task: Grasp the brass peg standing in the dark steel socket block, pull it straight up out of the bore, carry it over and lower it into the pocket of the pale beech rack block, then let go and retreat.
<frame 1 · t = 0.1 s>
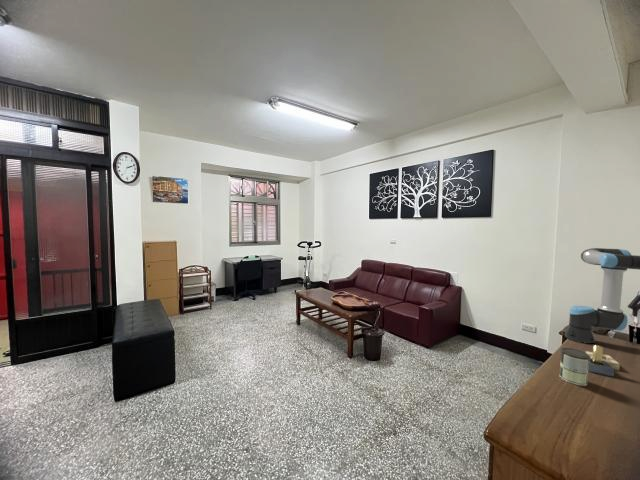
peg: (597, 357, 141), in the socket
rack: (601, 363, 149), on the table
socket: (596, 369, 142), on the table
coffee can: (572, 380, 131), on the table
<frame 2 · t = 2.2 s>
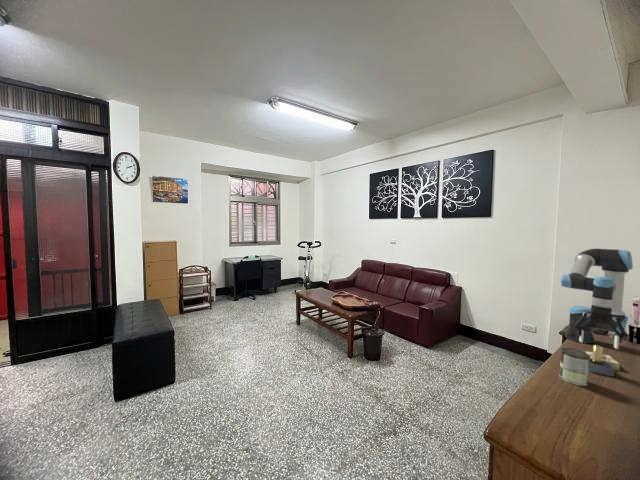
hand: (598, 344, 141), 14 cm above the table, fingers open, 13 cm apart
nothing on the table moved.
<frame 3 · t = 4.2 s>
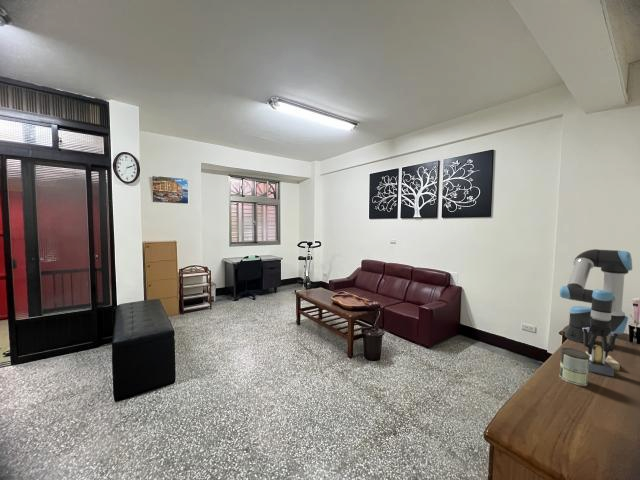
hand: (596, 361, 142), 5 cm above the table, fingers closed on peg, 4 cm apart
peg: (597, 357, 141), in the socket, touching gripper
everything else where it was.
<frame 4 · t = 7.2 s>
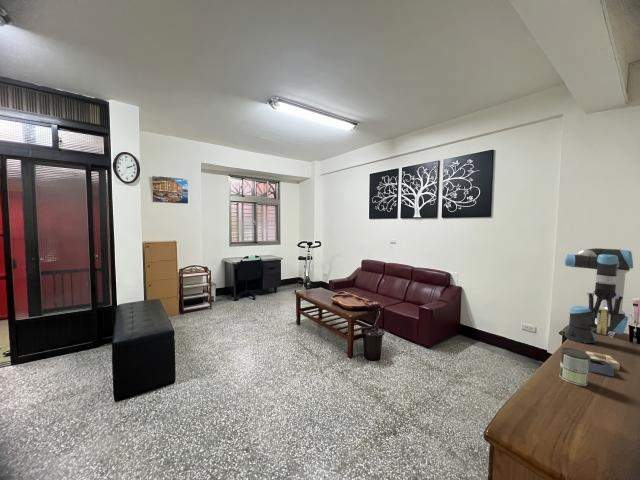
hand: (602, 324, 144), 24 cm above the table, fingers closed on peg, 4 cm apart
peg: (602, 321, 144), point 25 cm above the table, touching gripper
everything else where it was.
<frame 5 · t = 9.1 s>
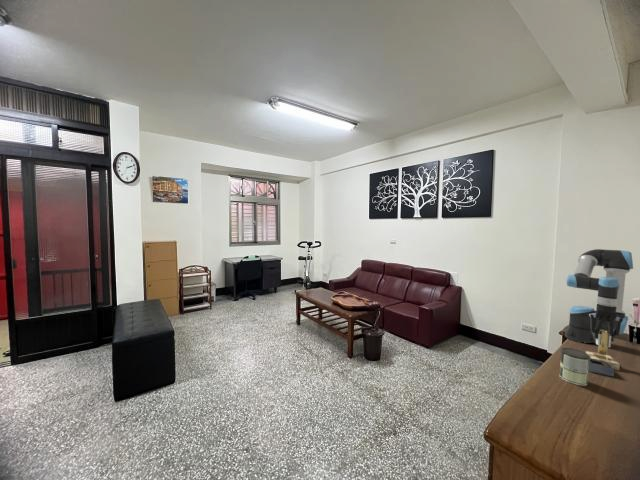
hand: (602, 345, 149), 10 cm above the table, fingers closed on peg, 4 cm apart
peg: (603, 342, 149), point 12 cm above the table, touching gripper
everything else where it was.
when the fingers open (6 cm above the table, at t = 10.6 s): peg drops 1 cm, resting in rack.
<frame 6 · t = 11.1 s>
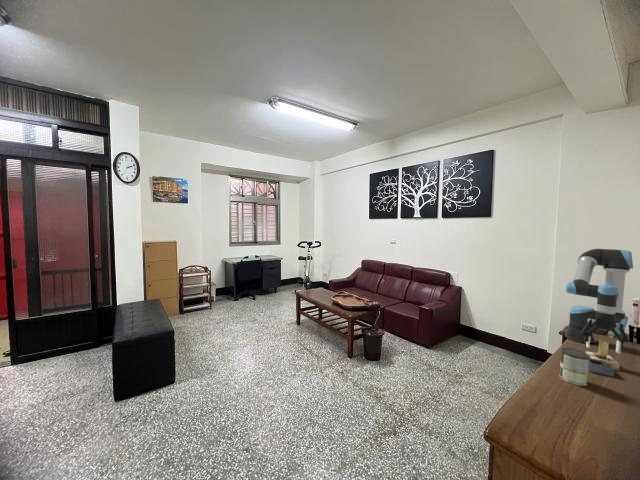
hand: (602, 350, 149), 8 cm above the table, fingers open, 11 cm apart
peg: (602, 352, 149), in the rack
everything else where it was.
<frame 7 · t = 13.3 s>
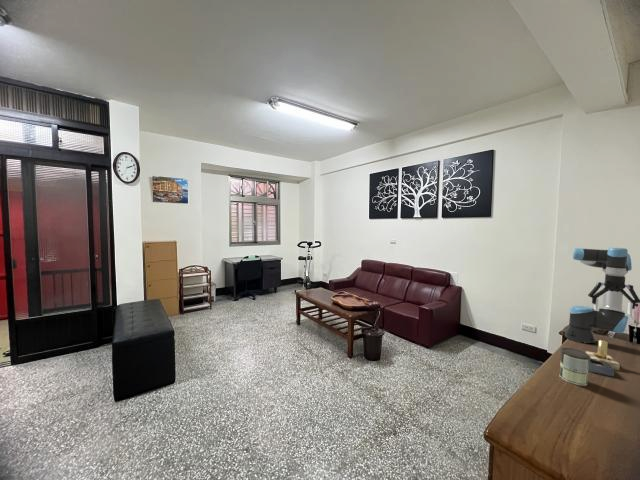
hand: (612, 311, 149), 30 cm above the table, fingers open, 13 cm apart
nothing on the table moved.
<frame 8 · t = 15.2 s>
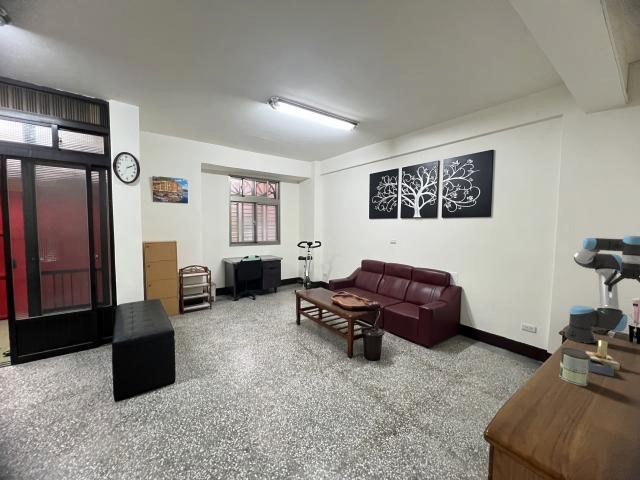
hand: (628, 299, 151), 37 cm above the table, fingers open, 13 cm apart
nothing on the table moved.
at the end: peg 0.1 cm off-centre on the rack, point 6.5 cm above the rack's base; peg tilted 1°; the gripper is holding nothing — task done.
